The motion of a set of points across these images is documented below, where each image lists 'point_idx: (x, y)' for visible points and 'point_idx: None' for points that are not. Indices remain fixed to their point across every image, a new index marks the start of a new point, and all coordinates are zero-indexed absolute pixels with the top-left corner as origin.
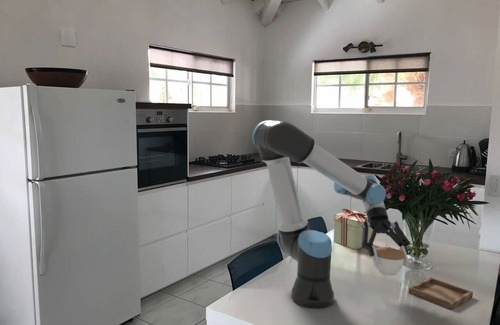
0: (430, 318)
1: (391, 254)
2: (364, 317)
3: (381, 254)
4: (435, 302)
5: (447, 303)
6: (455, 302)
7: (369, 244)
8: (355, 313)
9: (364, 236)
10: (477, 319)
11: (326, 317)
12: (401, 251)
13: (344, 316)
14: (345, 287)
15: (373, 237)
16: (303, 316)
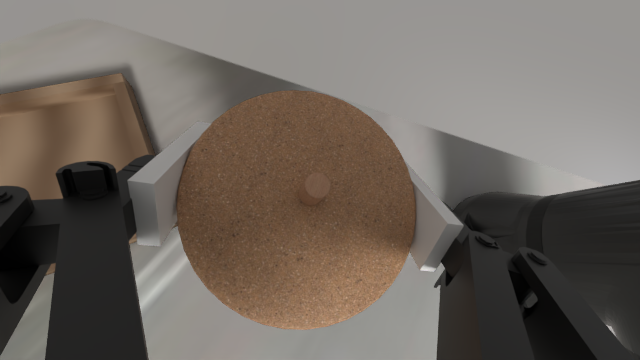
0: (243, 75)
1: (332, 131)
2: (402, 130)
3: (398, 153)
4: (146, 131)
5: (128, 89)
6: (94, 79)
7: (494, 242)
8: (415, 152)
9: (605, 325)
10: (104, 26)
11: (479, 155)
12: (191, 178)
13: (443, 147)
14: (384, 312)
15: (494, 307)
16: (521, 172)
